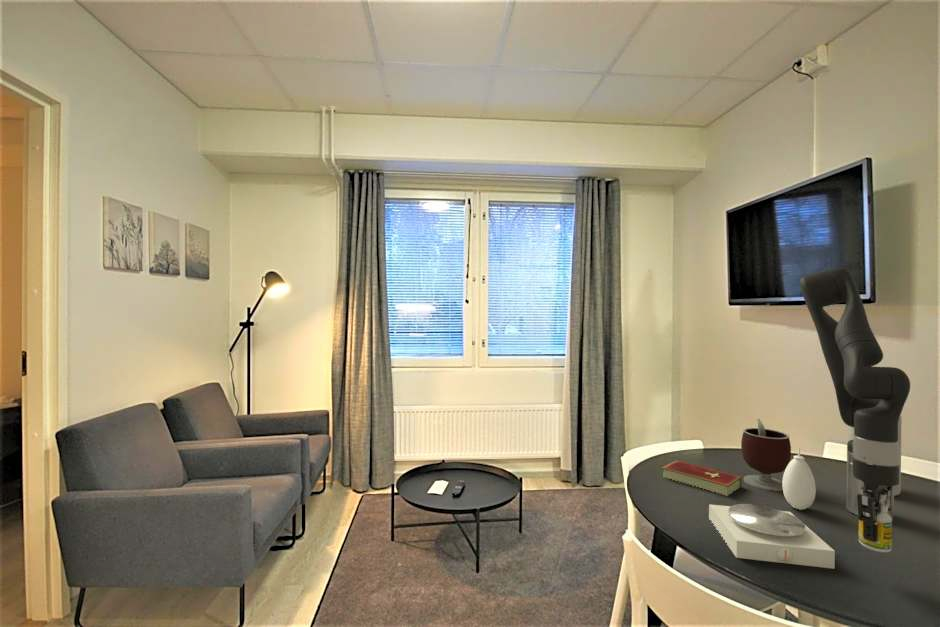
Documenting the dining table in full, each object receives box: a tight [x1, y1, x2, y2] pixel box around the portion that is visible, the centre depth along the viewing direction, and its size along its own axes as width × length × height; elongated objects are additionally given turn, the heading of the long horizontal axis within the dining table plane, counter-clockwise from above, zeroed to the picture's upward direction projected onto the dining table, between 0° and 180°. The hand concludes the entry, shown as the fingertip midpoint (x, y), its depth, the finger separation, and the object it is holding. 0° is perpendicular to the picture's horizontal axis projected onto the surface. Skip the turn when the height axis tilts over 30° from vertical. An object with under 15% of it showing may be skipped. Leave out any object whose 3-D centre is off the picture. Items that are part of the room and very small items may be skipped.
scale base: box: [708, 503, 836, 570], centre depth 111 cm, size 20×20×4 cm
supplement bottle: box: [858, 503, 893, 553], centre depth 96 cm, size 5×5×10 cm
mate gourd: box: [740, 418, 792, 492], centre depth 150 cm, size 16×14×20 cm
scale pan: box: [729, 503, 806, 537], centre depth 111 cm, size 16×16×1 cm
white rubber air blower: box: [781, 447, 817, 511], centre depth 130 cm, size 8×8×18 cm
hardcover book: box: [661, 460, 742, 497], centre depth 150 cm, size 12×21×4 cm, turn 42°
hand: (874, 535), depth 96 cm, fingers closed on supplement bottle, 5 cm apart
